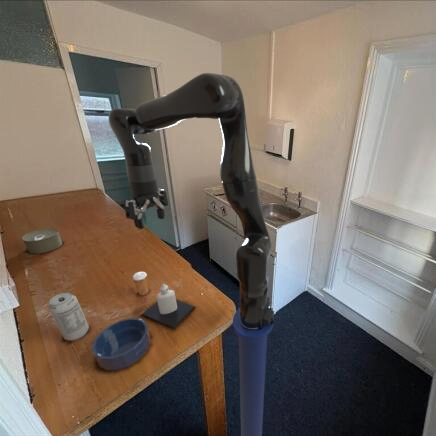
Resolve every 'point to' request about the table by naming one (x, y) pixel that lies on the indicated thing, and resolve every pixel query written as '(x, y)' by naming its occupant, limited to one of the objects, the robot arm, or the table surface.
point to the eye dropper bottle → (166, 300)
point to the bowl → (121, 344)
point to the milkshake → (141, 282)
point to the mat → (169, 314)
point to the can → (42, 240)
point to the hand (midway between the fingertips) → (151, 223)
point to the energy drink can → (68, 316)
